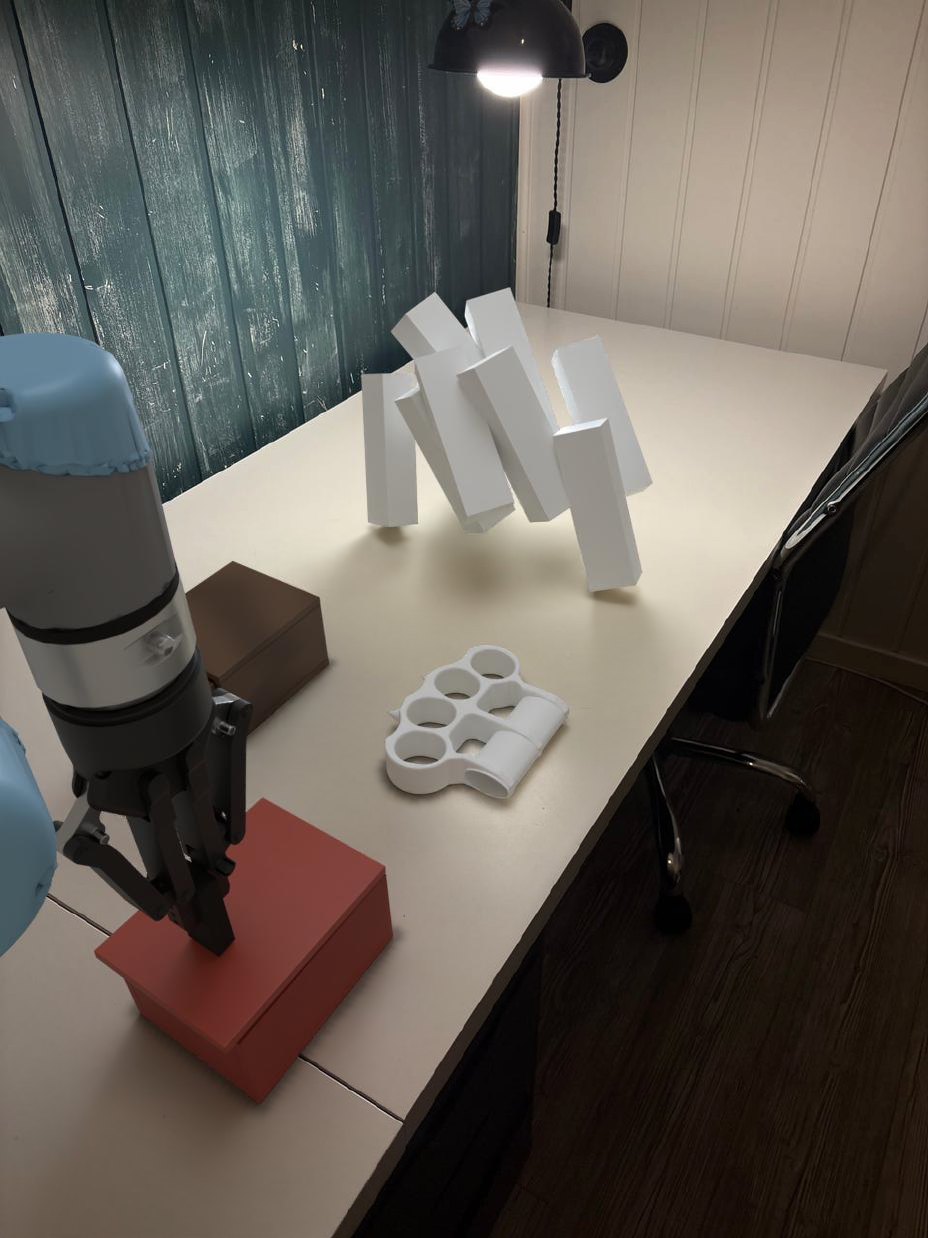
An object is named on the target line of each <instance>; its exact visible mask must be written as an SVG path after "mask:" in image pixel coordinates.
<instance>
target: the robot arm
mask: <svg viewBox="0 0 928 1238" xmlns="http://www.w3.org/2000/svg"><path fill="white" fill-rule="evenodd" d="M130 388H131V387H130V385H129V382H128V379H127V377H126V374H125V372H124V370H123V367H122V366H121V364H120V363H119V361H118V360H117V359H116V357H115V355H114V354H112V353H111V352H110V351H108V350H106V349H105V348H103V347H102V346H101V345H99V344H97V343H96V342H94V341H92V340H89V339H87V338H84V337H80V336H77V335H73V334H66V333H59V332H24V333H23V332H21V333H15V334H8V335H2V336H0V610H3V609H5V611H6V614H7V616H8V618H9V620H10V623H11V625H12V628H13V631H14V633H15V636H16V638H17V641H18V642H19V645H20V647H21V650H22V653H23V655H24V657H25V660H26V663H27V665H28V668H29V670H30V673H31V675H32V678H33V680H34V682H35V685H36V687H37V689H39V690H40V691H41V696H42V697H41V698H42V700H43V703H44V706H45V707H46V710H47V713H48V715H49V718H50V720H51V722H52V724H53V727H54V729H55V732H56V734H57V736H58V739H59V741H60V744H61V746H62V748H63V750H64V752H65V753H66V755H67V757H68V759H69V761H70V762H71V765H72V779H71V791H72V793H73V795H74V797H75V798H76V800H75V802H74V803H73V805H72V807H71V808H70V810H69V812H68V814H67V816H66V817H65V819H64V821H62V820H53V818H52V815H51V813H50V811H49V808H48V806H47V804H46V801H45V799H44V796H43V795H42V792H41V790H40V787H39V784H38V782H37V780H36V778H35V775H34V773H33V770H32V768H31V766H30V763H29V761H28V758H27V756H26V752H27V748H26V747H25V745H24V743H23V742H22V740H21V738H19V733H18V731H16V730H15V729H14V728H13V727H12V726H11V725H10V724H9V723H8V722H6V721H5V720H4V719H3V718H2V716H0V958H2V956H4V955H5V954H6V953H7V952H8V951H9V950H10V949H11V948H12V947H13V946H14V944H15V943H16V942H18V941H19V939H20V938H21V937H22V936H23V935H24V934H25V932H26V931H27V930H28V929H29V927H30V926H31V925H32V923H33V922H34V920H35V919H36V918H37V915H38V914H39V912H40V910H41V909H42V907H43V905H44V903H45V901H46V899H47V896H48V894H49V893H50V892H49V891H50V889H51V887H52V882H53V878H54V876H55V871H56V870H57V868H59V864H58V858H57V852H58V853H59V854H60V855H62V856H63V857H64V858H66V859H67V860H68V861H71V862H72V863H73V864H75V865H78V866H83V867H89V868H90V870H92V871H93V872H94V873H95V874H96V875H97V876H99V878H101V879H102V880H103V881H104V882H105V883H106V884H107V885H108V886H109V888H111V889H112V890H113V891H114V892H116V893H117V894H118V895H119V896H120V897H121V898H122V899H123V900H124V901H125V902H126V903H128V904H129V905H131V906H132V907H134V908H136V909H137V911H138V910H140V911H141V912H143V913H144V914H146V915H147V916H148V917H150V918H151V919H153V920H154V921H160V920H161V919H163V918H164V917H165V916H166V915H167V914H168V918H169V920H170V921H172V922H173V923H175V924H176V925H178V926H179V927H180V928H182V929H183V930H185V931H187V933H188V936H189V937H191V938H192V939H194V940H195V941H197V942H198V943H199V944H201V945H202V946H204V947H205V948H207V949H208V950H210V951H211V952H213V953H214V954H216V955H217V956H218V957H219V956H220V955H221V954H222V953H223V952H224V951H225V950H226V949H227V948H228V947H229V945H230V944H231V943H232V942H233V941H234V940H235V936H234V933H233V930H232V926H231V923H230V920H229V916H228V913H227V910H226V907H225V903H224V900H223V898H224V897H225V896H226V895H227V894H228V893H229V890H230V883H229V880H228V877H229V876H230V875H231V874H232V873H233V871H234V869H235V866H236V862H235V861H233V860H232V859H230V858H228V857H227V856H226V851H227V849H228V848H229V846H230V845H231V844H232V845H237V844H239V843H240V842H241V841H242V840H243V838H244V836H245V832H246V812H247V738H248V735H249V734H248V731H249V727H250V723H251V720H252V716H253V712H254V706H253V705H252V704H251V703H249V702H247V701H245V700H243V699H241V698H239V697H237V696H235V695H233V694H231V693H229V692H227V691H225V690H223V689H221V688H217V689H215V690H214V691H213V692H212V693H211V690H210V686H209V682H208V678H207V674H206V670H205V666H204V663H203V659H202V655H201V651H200V649H199V646H198V645H197V643H196V634H195V631H194V627H193V623H192V619H191V615H190V611H189V607H188V603H187V599H186V595H185V593H186V592H185V588H184V585H183V584H184V583H183V581H182V576H181V574H180V571H179V568H178V564H177V560H176V558H175V554H174V549H173V545H172V541H171V536H170V532H169V527H168V523H167V519H166V515H165V511H164V505H163V502H162V498H161V492H160V489H159V485H158V480H157V476H156V472H155V467H154V463H153V454H154V453H153V448H152V445H151V442H150V441H148V439H147V436H146V433H145V429H144V427H143V424H142V421H141V418H140V415H139V412H138V411H139V410H138V408H137V405H136V402H135V398H134V397H133V394H132V391H131V389H130ZM247 734H248V735H247ZM102 812H103V813H107V814H113V815H118V816H122V817H125V818H126V821H127V823H128V826H129V829H130V832H131V835H132V836H133V840H134V842H135V845H136V848H137V850H138V853H139V855H140V858H141V861H142V864H143V866H144V869H145V872H146V876H144V875H143V874H142V873H141V872H140V871H139V870H138V868H136V867H135V866H134V865H133V863H131V861H129V860H128V859H127V858H126V856H124V854H123V853H122V852H121V851H119V849H117V848H115V847H113V845H110V844H109V842H110V840H111V836H110V835H109V834H108V833H106V825H105V824H104V823H103V822H101V814H102ZM186 856H187V858H189V859H187V858H186Z"/></svg>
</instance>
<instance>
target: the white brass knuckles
mask: <svg viewBox="0 0 928 1238" xmlns="http://www.w3.org/2000/svg"><path fill="white" fill-rule="evenodd" d="M520 663H521V662H520V661H519V658H518V657H517V656H516V655H515V653H513V652H512V651H510V650H508V649H507V648H505V647H503V646H499V645H492V644H482V645H476V646H473V647H470V648H467V650H466V652H465V654H464V655H463V656H462V657H461V658H460V659H459V660H457V661H455V662H453V663H450V664H446V665H440V666H439V667H437V668H436V669H434V670H432V671H431V672H429V673H428V674H426V675H421V677H422V679H423V684H422V685H421V686H420V687H419V688H418V689H417V690H416V691H415V692H413V693H411V694H409V695H406V696H405V698H404V700H403V702H402V704H401V706H400V708H397V709H393V710H391V711H387V712H386V714H388V715H389V716H390V717H391V718H392V719H394V720H395V721H396V722H397V723H398V726H397V728H396V729H395V730H394V731H393V733H391V734H390V735H389V736H387V737H386V738H385V740H384V755H385V766H386V773H387V776H388V778H389V780H390V781H391V783H392V784H393V785H394V786H395V787H396V788H398V789H400V790H401V791H403V792H406V793H409V794H414V795H427V794H433V793H436V792H439V791H441V790H442V789H444V788H446V787H447V786H449V785H458V784H459V785H460V784H465V785H466V786H468V787H471V788H473V789H475V790H477V791H479V792H481V793H483V794H485V795H487V796H489V797H492V798H495V799H503V800H505V799H508V798H509V797H512V795H514V793H515V789H516V787H517V785H519V783H520V781H521V780H522V779H523V778H524V776H525V775H526V774H527V772H528V770H529V769H530V768H531V767H532V765H533V764H534V762H536V760H537V758H540V757H541V756H542V754H543V750H544V749H545V747H547V745H548V743H549V742H550V741H551V739H552V738H553V736H554V735H555V734H556V733H557V732H558V730H559V729H560V727H561V726H562V724H563V723H565V722H567V720H568V719H569V714H570V708H569V706H568V704H567V703H565V702H564V701H563V700H562V699H561V698H559V697H558V696H557V695H555V694H553V693H551V692H549V691H546V690H543V689H541V688H539V687H537V686H534V685H531V684H529V683H526V682H524V680H523V679H522V678H521V664H520ZM484 675H497V676H499V677H502V678H497V679H495V678H494V679H493V678H488V677H485V676H484ZM449 694H462V695H466V696H468V697H469V698H463V699H454V698H450V697H449V696H446V695H449ZM506 707H514V708H513V709H512V711H511V712H510V713H509V715H508V716H507V717H506V718H505V719H504V718H502V717H499V716H497V715H495V714H492V713H490V711H491V710H493V709H501V708H506ZM426 723H435V724H442V725H445V726H442V727H435V728H432V727H426V726H421V724H426ZM471 739H473V740H477V741H479V742H482V743H484V746H483V747H482V749H481V750H480V751H479V752H478V753H477V755H474V754H471V753H469V752H463V753H459V752H457V751H458V750H459V749H460V747H461V746H462V745H463V744H464V743H465V742H466V741H467V740H471ZM412 757H413V758H414V757H426V758H431V759H434V760H435V759H436V760H437V761H434V762H432V763H428V764H421V763H420V764H419V763H414V762H409V761H405V760H407V759H409V758H412Z"/></svg>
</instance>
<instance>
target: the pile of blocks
mask: <svg viewBox="0 0 928 1238" xmlns="http://www.w3.org/2000/svg"><path fill="white" fill-rule="evenodd" d="M464 318H465V321H466V324H467V327H468V330H469V332H470V333H469V332H468V330H466V328H465V327H464V326H463V324H462V323H460V321H459V320H458V319H457V317H456V315H454V313H453V312H452V311H451V310H450V309H449V307H448V306H447V305H446V303H445V302H444V301H443V300H442V299H441V297H440V295H438V293H436V291H434V292H433V293H431V294H430V295H428V297H426V298H424V299H423V300H422V301H421V302H419V303H418V304H417V305H415V306H414V307H413V308H411V309H410V310H409V311H407V312H405V314H404V315H403V316H402V317H401V318H400V319H399V321H397V323H396V325H394V326H393V328H392V329H391V330H390V333H391V334H392V335H393V336H394V338H395V339H396V340H397V341H398V342H399V344H400V345H401V346H402V348H403V349H404V350H405V351H406V352H407V354H408V355H409V356H410V357H411V358H412V360H413V361H414V365H413V366H414V373H413V372H406V373H405V372H403V373H399V372H397V373H396V372H395V373H393V372H392V373H361V375H360V378H361V380H360V381H361V398H362V399H361V400H362V401H361V402H362V403H361V404H362V419H363V421H362V422H363V423H362V424H363V445H364V467H365V469H364V470H365V485H366V486H365V487H366V489H365V490H366V510H367V511H366V512H367V523H369V524H372V525H377V526H380V527H386V528H394V527H396V528H397V527H404V526H412V525H418V524H419V514H418V513H419V511H418V485H417V484H418V483H417V482H418V480H417V479H418V477H417V476H418V475H417V450H416V448H417V447H416V445H417V446H418V448H419V450H420V452H421V453H422V455H423V457H424V459H425V461H426V462H427V464H428V466H429V468H430V470H431V472H432V473H433V475H434V477H435V479H436V481H437V483H438V485H439V486H440V488H441V490H442V492H443V493H444V495H445V498H446V499H447V501H448V503H449V504H450V506H451V508H452V511H453V512H454V513H455V516H456V517H457V519H458V521H459V523H460V525H461V527H462V528H463V530H464V533H465V534H486V533H487V532H488V531H490V530H491V529H492V528H494V527H495V526H496V525H498V524H499V523H500V522H501V521H503V520H504V519H505V518H507V517H508V516H509V515H510V514H512V513H513V512H514V511H516V507H515V505H514V504H515V499H514V497H513V493H512V490H513V492H514V494H515V496H516V498H517V500H518V502H519V504H520V506H521V509H522V510H523V512H524V514H525V516H526V518H527V520H528V522H529V523H531V524H532V523H546V522H547V523H549V522H552V520H554V519H556V518H557V517H558V516H560V515H561V514H563V513H564V512H566V511H567V510H570V516H571V519H572V523H573V527H574V531H575V535H576V540H577V543H578V549H579V552H580V555H581V560H582V564H583V568H584V573H585V576H586V580H587V585H588V589H589V592H591V593H592V592H599V591H600V592H601V591H606V590H613V589H614V590H615V589H620V588H627V587H628V588H629V587H635V586H637V584H638V582H639V580H640V578H641V576H642V574H643V569H642V564H641V560H640V555H639V550H638V547H637V546H638V545H637V541H636V537H635V532H634V528H633V522H632V519H631V514H630V510H629V505H628V502H627V497H630V496H634V495H636V494H639V493H643V492H645V490H647V489H648V488H649V487H650V486H651V485H652V484H653V483H654V482H653V480H652V476H651V474H650V471H649V468H648V465H647V463H646V462H647V461H646V460H645V457H644V455H643V451H642V449H641V445H640V443H639V440H638V438H637V434H636V432H635V429H634V427H633V424H632V421H631V418H630V415H629V411H628V409H627V407H626V404H625V401H624V399H623V396H622V392H621V390H620V387H619V383H618V381H617V378H616V376H615V373H614V370H613V367H612V364H611V362H610V359H609V356H608V353H607V351H606V348H605V346H604V342H603V340H602V337H601V334H597V335H594V336H591V337H588V338H585V339H581V340H577V341H575V342H573V343H572V342H571V343H568V344H566V345H565V344H564V345H563V346H560V347H559V346H558V347H556V348H555V351H554V353H553V356H552V358H551V361H550V363H551V366H552V369H553V371H554V374H555V377H556V380H557V383H558V385H559V388H560V392H561V394H562V397H563V400H564V402H565V403H564V404H565V405H566V408H567V409H566V410H567V411H568V414H569V416H570V419H571V422H572V425H569V426H564V427H563V426H562V427H561V428H560V425H559V422H558V420H557V417H556V414H555V411H554V409H553V405H552V403H551V399H550V396H549V395H548V391H547V388H546V386H545V382H544V380H543V377H542V374H541V372H540V368H539V366H538V362H537V360H536V358H535V357H536V356H535V354H534V351H533V349H532V346H531V344H530V343H531V342H530V339H529V338H528V334H527V331H526V329H525V326H524V324H523V321H522V317H521V315H520V312H519V309H518V306H517V303H516V300H515V297H514V295H513V292H512V289H511V287H506V288H503V289H500V290H496V291H493V292H490V293H487V294H484V295H479V296H477V297H474V298H470V299H467V300H466V302H465V310H464ZM414 375H415V377H416V381H417V383H416V386H414V385H415V384H414V383H415V382H414ZM509 484H510V485H509ZM510 486H511V487H510ZM511 488H512V490H511Z"/></svg>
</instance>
